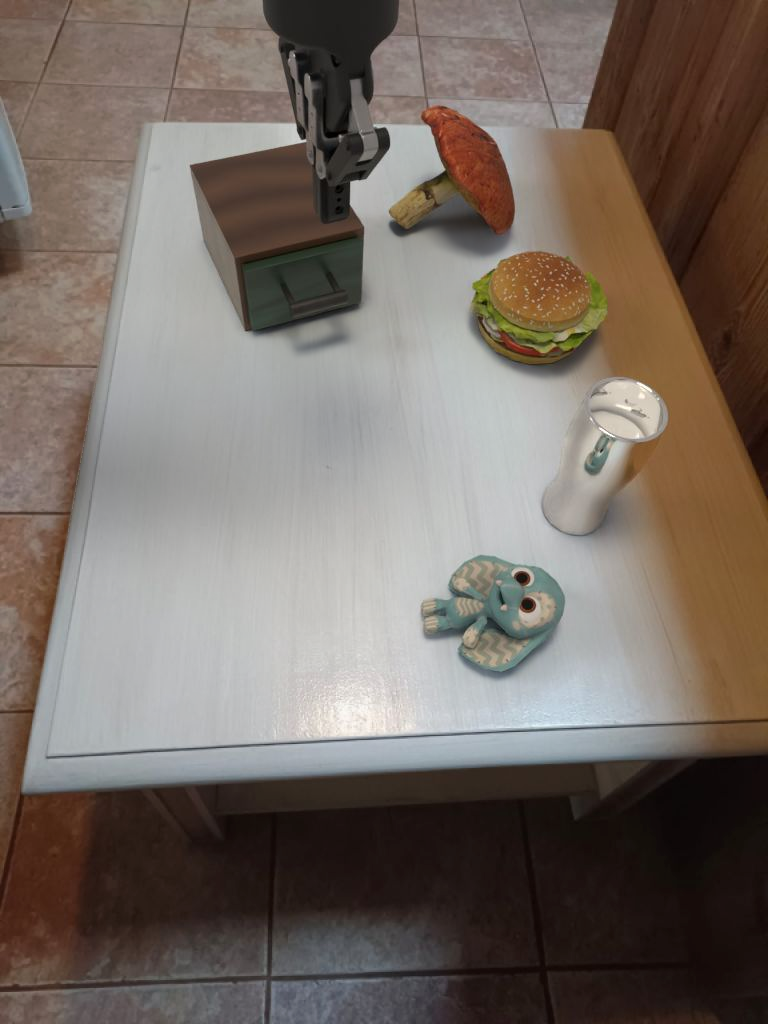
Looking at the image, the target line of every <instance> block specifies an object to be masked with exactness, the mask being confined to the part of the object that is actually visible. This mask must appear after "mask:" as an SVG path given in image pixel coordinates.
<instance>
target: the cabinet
mask: <svg viewBox="0 0 768 1024" xmlns="http://www.w3.org/2000/svg"><path fill="white" fill-rule="evenodd" d="M306 152H307V146H306V141H304V142H299V143H294V144H289V145H284V146H279V147H274V148H269V149H264V150H263V149H262V150H259V151H252V152H248V153H243V154H238V155H233V156H228V157H223V158H218V159H213V160H208V161H203V162H198V163H193V164H189V169H190V175H191V181H192V186H193V191H194V196H195V201H196V207H197V213H198V219H199V224H200V229H201V234H202V239H203V243H204V244H205V245H204V246H205V247H206V249H207V251H208V253H209V256H210V258H211V260H212V262H213V265H214V267H215V269H216V271H217V273H218V276H219V277H220V280H221V282H222V284H223V286H224V289H225V291H226V293H227V295H228V297H229V299H230V301H231V304H232V306H233V308H234V310H235V313H236V314H237V317H238V319H239V321H240V324H241V325H242V327H243V330H244V331H245V332H247V331H250V330H253V329H252V327H251V325H250V322H249V315H248V308H247V300H246V293H245V286H244V278H243V271H242V264H244V263H246V262H251V261H255V260H259V259H263V258H267V257H272V256H276V255H280V254H284V253H288V252H293V251H297V250H301V249H305V248H310V247H314V246H318V245H322V244H326V243H331V242H335V241H339V240H343V239H346V240H347V239H352V238H356V237H359V238H360V240H361V241H362V243H363V248H364V247H365V246H364V245H365V244H364V243H365V225H364V224H363V223H362V221H361V219H360V218H359V216H358V214H357V213H356V212H355V210H354V208H353V207H352V205H351V204H350V214H349V216H348V218H347V219H345V220H342V221H338V222H333V223H329V224H323V223H322V222H321V220H320V219H319V217H318V215H317V214H316V212H315V210H314V208H313V178H312V165H314V164H312V165H311V164H310V162H309V159H308V158H307V154H306ZM363 267H364V259H363V260H362V274H363V273H364V272H363V271H364V269H363ZM362 297H363V285H362V286H361V300H362Z"/></svg>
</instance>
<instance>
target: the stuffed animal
mask: <svg viewBox="0 0 768 1024" xmlns="http://www.w3.org/2000/svg"><path fill="white" fill-rule="evenodd" d="M447 585H448V588H449V590H450V591H451V592H453V593H455V594H456V595H458V596H455V597H450V598H449V599H442V598H436V597H433V598H426V599H423V600H422V602H421V604H420V610H421V613H422V614H423V615H424V616H425V617H424V620H423V621H422V622H423V623H422V626H423V630H424V631H425V632H426V633H427V634H429V635H430V634H439V633H441V632H443V631H445V630H447V629H450V628H453V629H464V628H467V629H466V630H465V632H464V633H463V635H462V637H461V641H462V643H461V644H460V645H459V647H458V649H457V651H458V652H459V653H460V654H461V655H462V657H464V658H465V659H467V660H468V661H470V662H472V663H473V664H475V665H476V666H478V667H480V668H482V669H486V670H491V671H495V672H500V673H502V672H505V671H507V670H509V669H511V668H513V667H515V666H516V665H518V664H519V663H520V662H521V661H522V660H523V659H524V658H526V656H527V655H528V654H529V653H531V652H532V651H533V650H534V649H535V648H537V647H538V646H540V645H541V644H542V643H545V641H546V640H547V639H548V638H550V637H551V636H552V634H553V633H554V631H555V630H556V627H557V626H558V624H559V623H560V621H561V619H562V617H563V615H564V612H565V611H564V610H565V605H566V596H565V594H564V591H563V590H562V588H561V587H560V584H559V583H558V581H557V580H556V579H555V578H554V577H553V576H551V574H550V573H548V572H547V571H546V570H544V569H543V568H542V567H540V566H535V565H527V564H519V563H518V564H515V563H512V562H510V561H507V560H505V559H502V558H499V557H498V556H493V555H487V554H479V555H476V556H475V557H474V556H473V557H472V558H470V559H467V560H465V561H464V562H463V563H462V564H461V565H460V566H459V567H458V568H457V569H456V570H455V571H454V572H453V573H452V574H451V577H450V579H449V581H448V584H447ZM442 612H445V616H444V615H439V613H442ZM437 614H438V615H437ZM488 618H490V619H492V620H493V621H494V622H495V623H496V624H497V625H498V626H499V627H500V628H501V629H502V630H503V631H502V630H499V629H496V628H489V629H485V630H484V628H485V626H486V625H487V623H488Z"/></svg>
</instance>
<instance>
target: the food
mask: <svg viewBox="0 0 768 1024" xmlns="http://www.w3.org/2000/svg"><path fill="white" fill-rule="evenodd" d="M471 285H472V290H473V291H475V292H474V295H473V299H472V300H471V302H470V311H471V313H472V314H473V315H474V316H476V317H477V321H478V329H479V331H480V333H481V335H482V336H483V338H484V340H485V343H487V344H488V345H489V346H490V347H491V348H492V349H493V350H494V351H495V352H497V353H498V354H499V355H502V356H505V358H509V359H510V360H512V361H516V362H519V363H524V364H527V365H538V364H539V365H540V364H553V363H555V362H557V361H559V360H561V359H563V358H565V357H567V356H570V355H571V354H572V353H573V352H574V351H575V350H576V349H577V347H579V346H580V345H581V344H582V342H583V341H584V340H585V339H586V338H588V336H589V335H591V334H592V333H593V332H594V330H597V329H598V327H599V326H600V324H601V323H602V322H603V321H604V320H605V319H606V317H607V315H608V312H609V311H608V309H609V304H608V298H607V296H606V295H605V292H604V291H603V289H602V286H601V283H600V282H599V281H597V279H596V278H595V277H594V275H593V274H592V273H591V272H589V271H587V272H586V274H585V273H584V272H583V271H582V270H581V269H580V268H579V267H578V265H576V264H574V263H573V261H572V260H571V258H570V256H566V257H563V256H561V255H558V254H556V253H555V254H554V253H550V252H546V251H541V250H540V251H537V250H536V251H534V250H533V251H532V250H531V251H525V252H521V253H516V254H513V255H511V256H509V257H505V258H504V259H500V260H499V262H498V263H497V265H496V268H493V269H491V270H490V271H488V272H486V273H485V274H484V275H483V276H482V277H480V279H479V280H476V281H474V282H472V284H471Z"/></svg>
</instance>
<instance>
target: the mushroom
mask: <svg viewBox="0 0 768 1024" xmlns="http://www.w3.org/2000/svg"><path fill="white" fill-rule="evenodd" d="M420 119H421V120H422V122H423V123H424V124H425V125H427V126H429V128H430V131H431V135H432V136H433V139H434V145H435V148H436V151H437V153H438V157H439V159H440V162H441V164H442V166H443V168H444V170H443V171H442V172H441V173H440V174H438V175H436V176H435V177H433V178H431V179H429V180H426V181H424V182H422V183H420V184H419V185H417V186H416V187H414V188H413V189H412V190H410V191H409V192H408V193H406V194H405V196H403V197H402V198H401V199H400V200H398V201H397V202H396V203H395V204H393V205H392V206H391V207H390V208H389V209H388V214H389V216H390V217H392V219H393V220H394V221H395V222H396V223H397V224H399V226H401V227H402V228H403V229H408V230H409V229H411V228H412V227H413V226H415V225H416V224H418V223H419V222H420V221H421V220H423V219H424V218H425V217H427V216H428V215H429V214H431V213H432V212H433V211H435V210H436V209H438V208H440V207H441V206H443V205H444V204H445V203H448V202H449V201H451V200H452V199H454V198H456V197H457V196H459V195H461V197H462V198H463V199H464V200H465V202H466V203H467V204H468V205H470V206H471V207H472V208H473V209H474V210H475V211H476V212H477V213H479V214H480V215H481V216H482V218H483V220H484V221H485V223H486V224H487V225H488V226H490V228H491V230H492V232H493V234H494V235H498V236H502V235H505V234H506V233H507V232H508V231H509V229H510V228H511V227H512V225H513V223H514V221H515V217H516V216H515V215H516V203H515V197H514V196H515V195H514V190H513V186H512V182H511V178H510V175H509V172H508V168H507V165H506V162H505V160H504V158H503V155H502V153H501V149H500V148H499V145H498V143H497V142H496V140H495V138H493V137H492V135H490V134H489V133H488V132H487V131H486V130H484V129H483V128H482V127H481V126H479V125H478V124H476V123H475V122H474V121H473V120H471V119H470V118H468V117H466V116H465V115H463V114H461V113H459V112H458V111H457V110H454V109H452V108H450V107H448V106H446V105H440V104H439V105H434V106H430V107H428V108H426V109H424V110H422V112H421V115H420Z"/></svg>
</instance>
